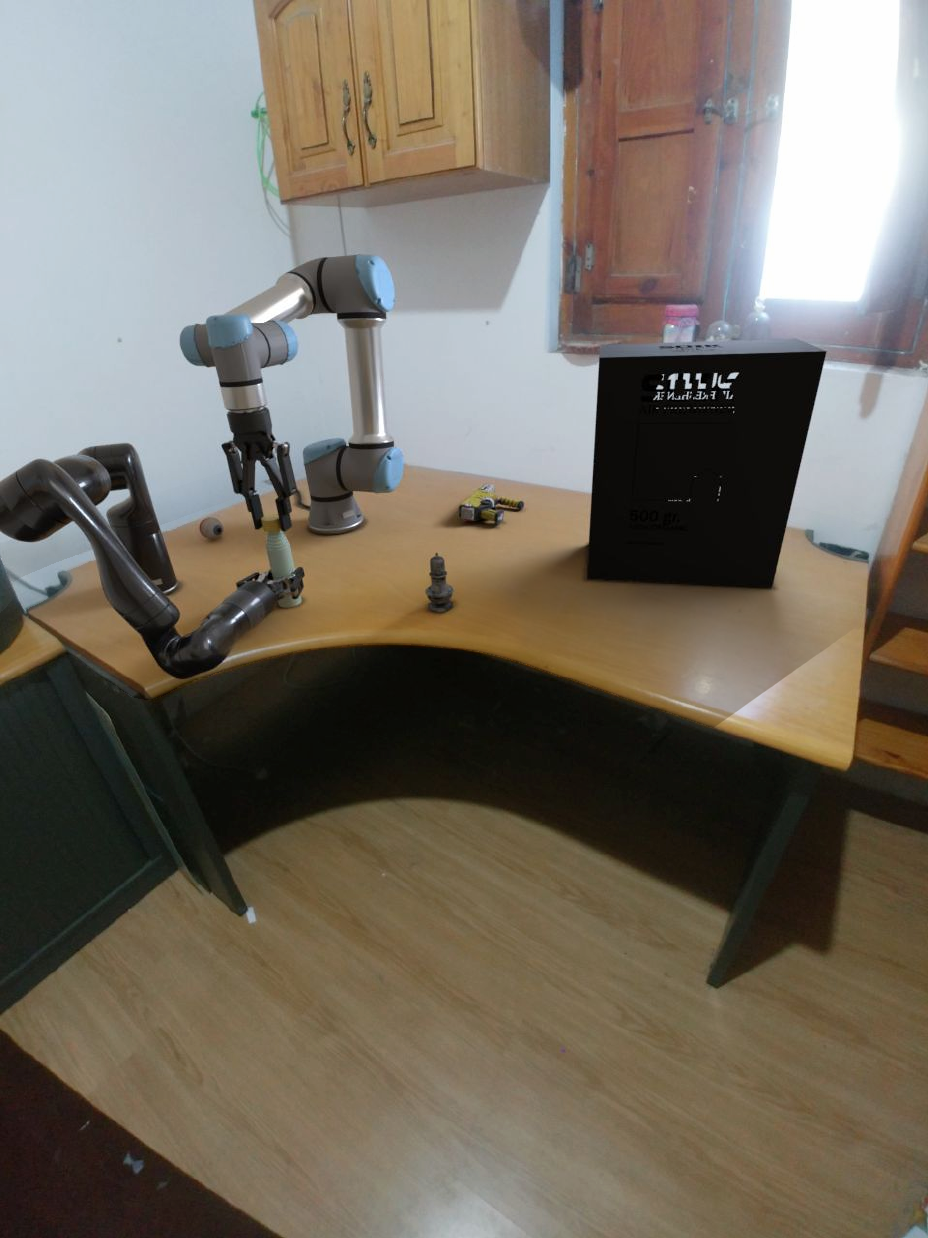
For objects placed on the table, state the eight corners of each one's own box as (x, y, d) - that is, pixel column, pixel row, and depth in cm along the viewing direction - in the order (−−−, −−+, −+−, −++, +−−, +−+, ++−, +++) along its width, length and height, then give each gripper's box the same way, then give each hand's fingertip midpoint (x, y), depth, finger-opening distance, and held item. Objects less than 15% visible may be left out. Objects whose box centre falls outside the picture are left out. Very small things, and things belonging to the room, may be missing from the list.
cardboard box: (752, 548, 142) (795, 338, 119) (772, 587, 124) (826, 351, 102) (589, 543, 149) (600, 344, 127) (586, 579, 132) (599, 357, 110)
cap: (259, 530, 121) (256, 518, 120) (275, 523, 124) (272, 512, 123) (272, 533, 119) (269, 522, 118) (288, 526, 122) (286, 515, 121)
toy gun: (532, 488, 178) (484, 481, 182) (510, 513, 158) (457, 504, 162) (530, 504, 181) (483, 496, 185) (509, 529, 161) (456, 520, 165)
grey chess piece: (451, 613, 122) (447, 559, 116) (423, 611, 123) (418, 558, 117) (457, 599, 127) (454, 547, 121) (430, 598, 128) (425, 546, 122)
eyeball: (213, 544, 161) (207, 523, 158) (198, 540, 164) (191, 520, 161) (231, 536, 165) (225, 516, 162) (216, 533, 168) (210, 512, 165)
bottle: (274, 604, 130) (254, 520, 120) (291, 595, 133) (273, 513, 124) (289, 609, 127) (270, 525, 118) (306, 600, 131) (288, 517, 121)
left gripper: (275, 593, 112) (317, 555, 126) (209, 587, 115) (257, 551, 129) (283, 628, 115) (323, 587, 129) (219, 621, 119) (264, 583, 133)
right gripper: (302, 404, 111) (323, 524, 122) (217, 404, 116) (245, 518, 127) (280, 413, 104) (304, 538, 116) (191, 412, 110) (223, 532, 121)
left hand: (290, 570), depth 129 cm, fingers closed on bottle, 4 cm apart
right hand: (273, 527), depth 122 cm, fingers open, 5 cm apart
